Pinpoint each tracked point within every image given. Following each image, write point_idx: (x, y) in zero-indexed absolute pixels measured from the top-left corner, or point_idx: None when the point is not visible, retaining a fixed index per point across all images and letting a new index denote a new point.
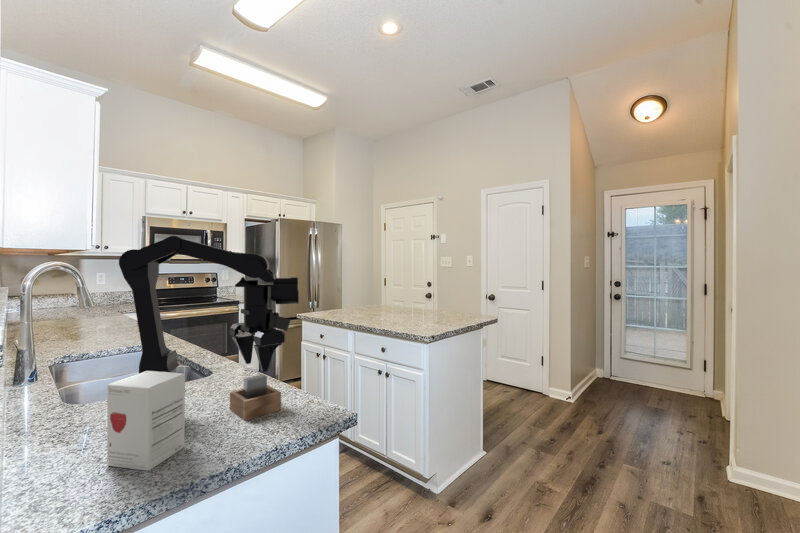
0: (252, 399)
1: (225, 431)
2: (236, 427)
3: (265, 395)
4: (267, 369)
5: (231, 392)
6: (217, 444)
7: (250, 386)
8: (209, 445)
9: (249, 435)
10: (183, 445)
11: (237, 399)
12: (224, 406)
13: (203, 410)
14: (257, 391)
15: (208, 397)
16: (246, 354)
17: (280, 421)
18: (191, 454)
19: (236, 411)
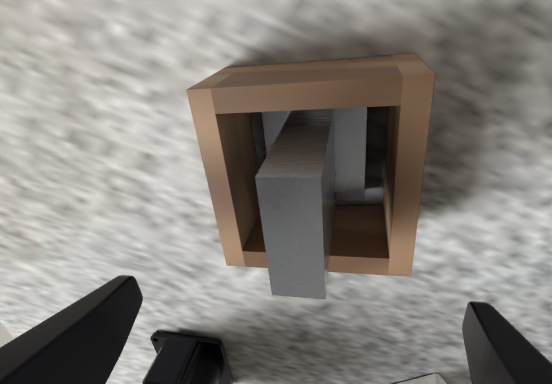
0: (411, 244)
1: (430, 288)
2: (430, 258)
3: (408, 175)
4: (495, 312)
5: (239, 263)
6: None
7: (327, 252)
8: None
9: (543, 257)
10: (442, 382)
11: None
12: (203, 216)
13: (204, 268)
14: (329, 192)
15: (86, 221)
16: (85, 375)
17: (547, 117)
18: None
19: None
